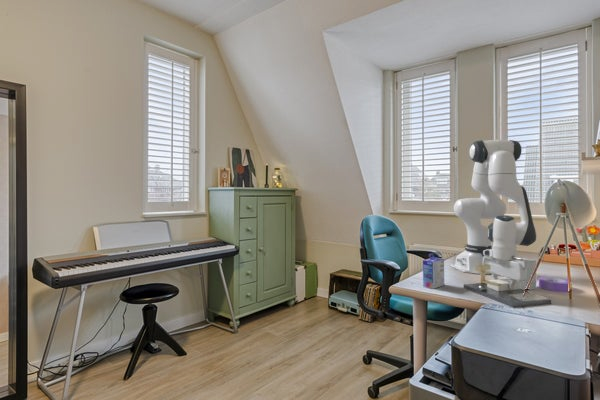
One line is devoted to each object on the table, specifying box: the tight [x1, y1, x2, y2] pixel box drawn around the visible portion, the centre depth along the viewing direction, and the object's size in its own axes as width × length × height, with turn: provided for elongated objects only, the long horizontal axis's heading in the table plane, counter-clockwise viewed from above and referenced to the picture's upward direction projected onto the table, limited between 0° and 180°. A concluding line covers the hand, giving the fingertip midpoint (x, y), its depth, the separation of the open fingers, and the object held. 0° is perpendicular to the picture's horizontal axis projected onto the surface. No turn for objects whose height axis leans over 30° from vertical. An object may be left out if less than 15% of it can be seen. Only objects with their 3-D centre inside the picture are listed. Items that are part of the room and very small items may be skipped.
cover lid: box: [486, 278, 520, 291], centre depth 147 cm, size 6×11×3 cm, turn 104°
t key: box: [476, 264, 501, 286], centre depth 142 cm, size 7×8×9 cm
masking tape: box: [538, 276, 569, 293], centre depth 153 cm, size 12×12×4 cm
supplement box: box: [518, 257, 537, 291], centre depth 153 cm, size 7×7×13 cm
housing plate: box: [463, 282, 552, 308], centre depth 143 cm, size 26×18×3 cm
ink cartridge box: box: [422, 252, 445, 290], centre depth 156 cm, size 10×6×14 cm, turn 129°
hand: (503, 286), depth 147 cm, fingers closed on cover lid, 6 cm apart
